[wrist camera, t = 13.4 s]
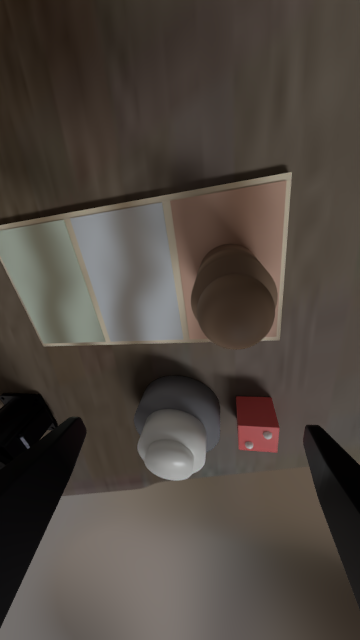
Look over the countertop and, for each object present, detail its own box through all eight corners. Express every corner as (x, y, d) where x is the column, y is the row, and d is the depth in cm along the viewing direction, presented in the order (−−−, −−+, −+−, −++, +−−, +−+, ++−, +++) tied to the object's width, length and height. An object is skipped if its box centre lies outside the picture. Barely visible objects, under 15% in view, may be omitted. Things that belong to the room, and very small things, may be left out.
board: (47, 343, 24) (42, 346, 23) (-9, 227, 19) (-17, 228, 18) (278, 336, 19) (279, 340, 18) (289, 173, 13) (292, 171, 13)
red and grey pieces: (151, 429, 28) (141, 460, 24) (135, 375, 24) (121, 403, 20) (268, 437, 25) (276, 473, 21) (272, 376, 21) (282, 409, 17)
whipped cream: (152, 448, 24) (142, 482, 21) (139, 407, 21) (125, 440, 18) (209, 453, 23) (207, 490, 20) (203, 410, 20) (200, 445, 17)
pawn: (201, 303, 18) (188, 373, 10) (195, 247, 16) (175, 281, 8) (258, 300, 17) (291, 373, 9) (260, 240, 15) (304, 270, 7)
